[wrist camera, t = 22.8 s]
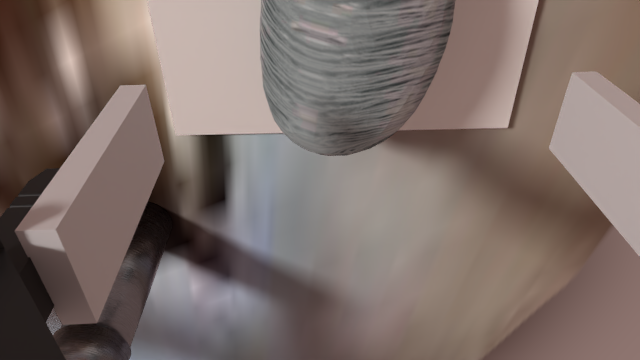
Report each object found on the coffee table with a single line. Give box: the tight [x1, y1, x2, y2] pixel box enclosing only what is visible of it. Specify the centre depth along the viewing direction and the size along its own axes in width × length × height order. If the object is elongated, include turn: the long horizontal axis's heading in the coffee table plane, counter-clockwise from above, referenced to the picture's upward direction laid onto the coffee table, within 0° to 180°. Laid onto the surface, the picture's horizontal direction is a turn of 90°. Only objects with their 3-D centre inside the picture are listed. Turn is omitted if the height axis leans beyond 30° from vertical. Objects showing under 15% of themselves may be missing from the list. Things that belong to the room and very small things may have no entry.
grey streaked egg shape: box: [260, 0, 456, 156], centre depth 24 cm, size 14×10×10 cm
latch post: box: [61, 202, 172, 346], centre depth 32 cm, size 4×4×11 cm
